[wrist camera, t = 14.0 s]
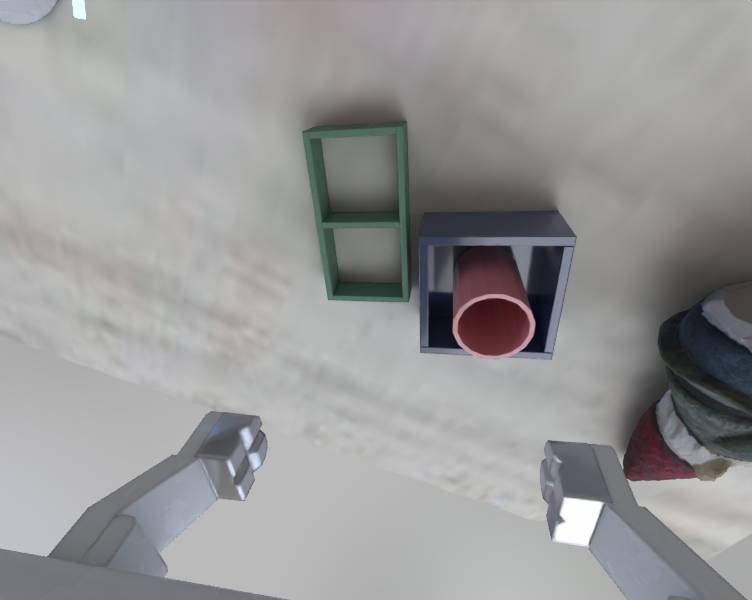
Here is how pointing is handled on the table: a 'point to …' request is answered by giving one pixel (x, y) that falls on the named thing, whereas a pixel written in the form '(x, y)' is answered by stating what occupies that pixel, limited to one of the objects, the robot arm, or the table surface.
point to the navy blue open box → (531, 252)
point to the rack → (359, 213)
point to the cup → (490, 304)
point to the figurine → (700, 394)
